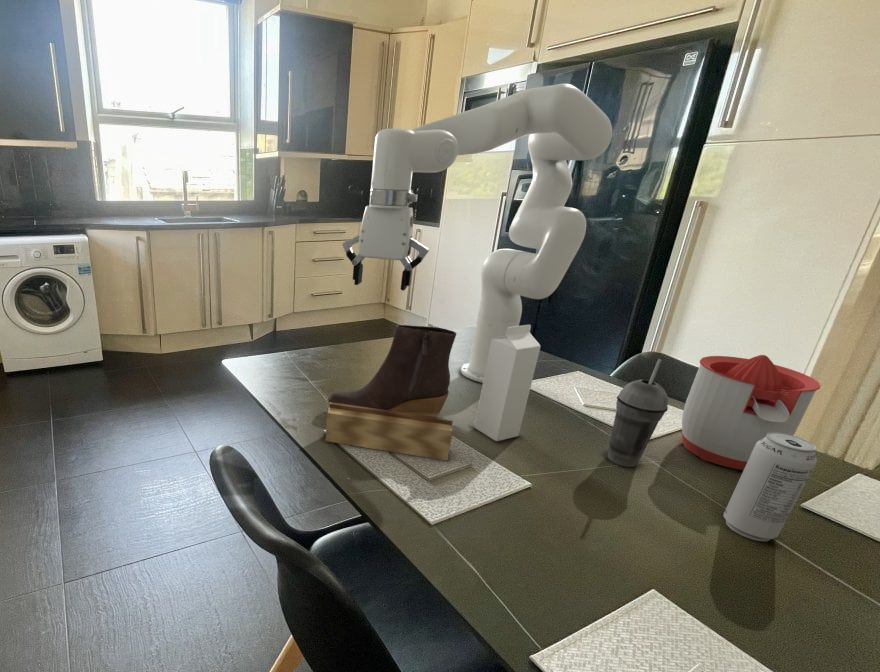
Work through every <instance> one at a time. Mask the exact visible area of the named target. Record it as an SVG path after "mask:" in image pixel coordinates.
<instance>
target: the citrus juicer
mask: <svg viewBox="0 0 880 672" xmlns="http://www.w3.org/2000/svg"><path fill="white" fill-rule="evenodd" d="M820 389H821V384H820V382H819V381H818V380H816V379H815V378H813V377H811V376H809V375H807V374H805V373H802V372H800V371H796V370H794V369H792V368H788V367H785V366H781V365H779V364H778V365H777V364H775V363H774V362H773V361H772V360H771V359H770V357H768V356H767V355H766V354H759V355H756V356H753V357H750V358H743V357H738V356H730V355H729V356H728V355H710V356H709V355H708V356H703V357H702V358H701V359H699V367H698V369H697V372H696V374H695V377H694V380H693V382H692V384H691V386H690V390H689V392H688V394H687V395H688V396H687V398H686V401H685V404H684V407H683V410H682V411H683V412H682V418H681V430H680V431H681V432H680V433H681V440H682V444H683V447H685V449H687V450H688V451H689V452H691V453H692V454H694V455H695V456H697V457H699V458H700V459H701V460H703V461H704V462H708V463H713V464H715V465H719V466H722V467H726V468H730V469H735V470H741V471H744V469H745V466H746V464H747V462H748V460H749V458H750V456H751V453H752V451H753V449H754V447H755V445H756V443H757V442H758V441H759V440H761V439H763V438H765V437H766V435H767V433H770V432H779V433H785V434H789V435H793V436H795V434H796V432H797V430H798V428H799V426H800V424H801V421H802V420H803V418H804V415H805V414H806V412H807V410H808V408H809V406H810V404H811V402H812V400H813V398H814V396H815V393H816V391H818V390H820Z"/></svg>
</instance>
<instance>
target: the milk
mask: <svg viewBox="0 0 880 672" xmlns="http://www.w3.org/2000/svg"><path fill="white" fill-rule="evenodd" d="M531 328H532V325H531V324H523V325H519V326H515V327H508V328H507V332H506V335H505V336H502V337H498V338H495V339H492V341H491V345H490V350H489V355H488V360H487V365H486V370H485V375H484V380H483V383H482V386H481V390H480V395H479V400H478V405H477V410H476V415H475V420H474V425H473V428H474V429H476V430H477V431H479V432H481V434H483V435H485V436H487V437H488V438H490V439H492V440H493V441H495V442H500V441H504V440H507V439H512V438H516V437H519V436H520V432H521V428H522V425H523V419H524V416H525V412H526V409H527V403H528V400H529V395H530V392H531V388H532V383H533V380H534V375H535V371H536V367H537V363H538V360H539V355H540V351H541V344H540V343H539V341H537V339H536V338H535V337H534V336H533V335H532V333H531Z"/></svg>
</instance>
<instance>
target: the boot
mask: <svg viewBox="0 0 880 672" xmlns="http://www.w3.org/2000/svg"><path fill="white" fill-rule="evenodd" d="M456 337H457V332H456V331H454V330H450V329H446V328H444V327H443V328H442V327H437V326H436V327H435V326H425V325H410V324H396V325H395V329H394V333H393V339H392V342H391V346H390V348H389V351H388V353H387V355H386V357H385V358H384V361H383V362H382V364H381V365H380V367H379V368H378V370H377V371H376V373H375V375H374V376H373V377H372V378H371V380H370V381H369V382H367V384H366V385H365V386H363V387H362V388H360V389H357V390H339V391H335V392H333V393H332V394H331V395H330V396H329V397H328V398H327V399H326V405H327V408H328V409H329V408H330V402H332V403H339V404H346V405H353V406H361V407H368V408H375V409H382V410H389V411H396V412H403V413H411V414H418V415H425V416H432V417H439V416H440V413H441V411H442V409H443V407H444V405H445V403H446V401H447V399H448V397H449V393H450V391H449V387H450V384H451V383H450V382H451V372H450V366H449V363H450V356H451V352H452V349H453V346H454V343H455V340H456Z"/></svg>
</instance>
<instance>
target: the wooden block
mask: <svg viewBox="0 0 880 672" xmlns="http://www.w3.org/2000/svg"><path fill="white" fill-rule="evenodd" d="M453 422H454V421H453V419H452V418H445V417H439V416H438V417H432V416H425V415H418V414H411V413H403V412H396V411H389V410H382V409H375V408H368V407H361V406H353V405H346V404H339V403H332V402H330V408H328V410H327V415H326V424H325V425H326V426H325V427H326V428H325V439H324V440H325V442H328V443H333V444H334V443H336V444H341V445H347V446H354V447H358V448H359V447H360V448H367V449H373V450H379V451H385V452H391V453H397V454H404V455H410V456H416V457H423V458H429V459H433V460H435V459H436V460H442V461H448V459H449V453H450V448H451V444H452V443H451V442H452V438H453V432H454V429H453Z"/></svg>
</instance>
